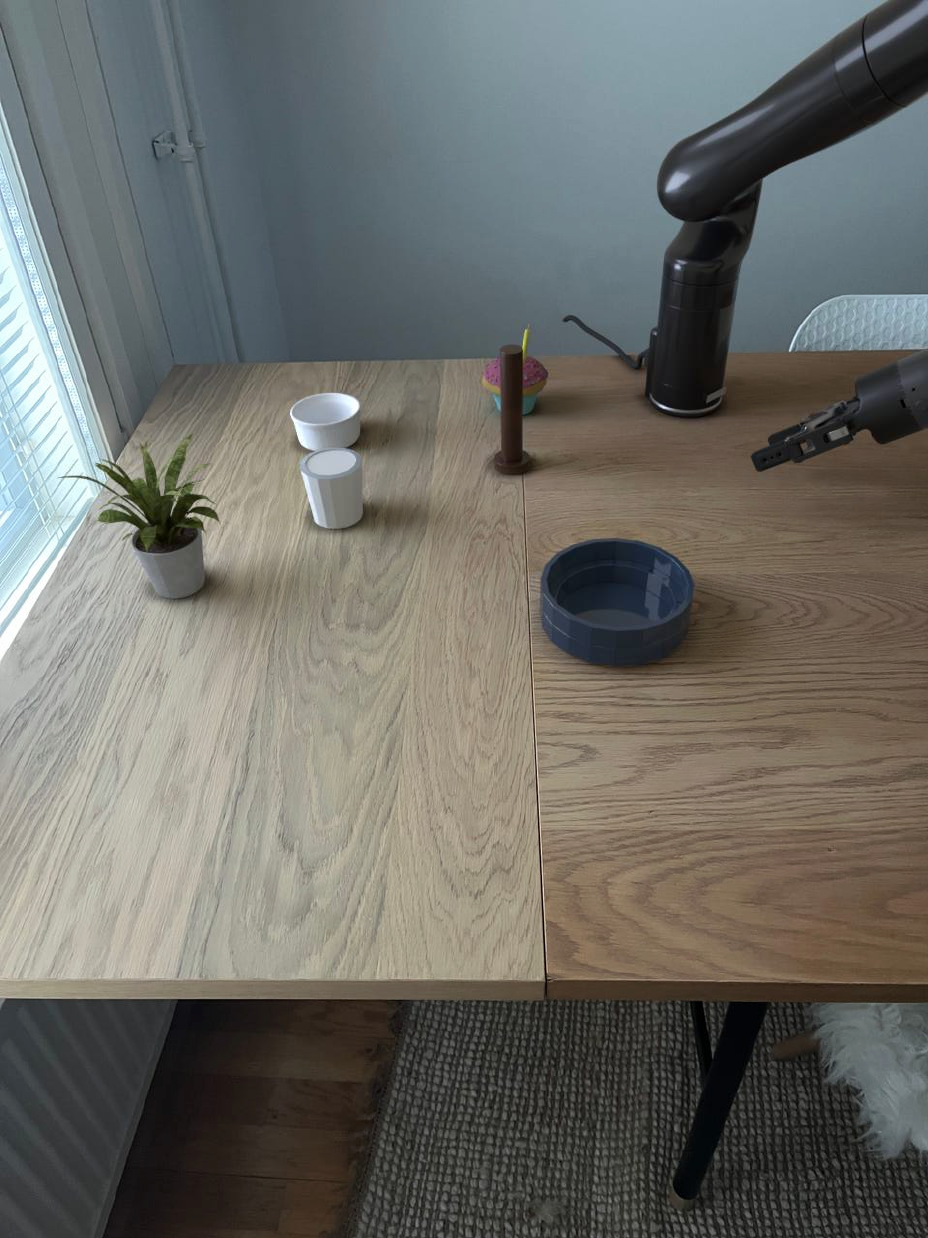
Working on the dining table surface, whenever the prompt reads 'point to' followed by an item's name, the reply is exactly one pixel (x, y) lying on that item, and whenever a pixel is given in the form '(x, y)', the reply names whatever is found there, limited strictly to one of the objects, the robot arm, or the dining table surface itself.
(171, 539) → the house plant
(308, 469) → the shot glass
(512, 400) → the stirrer
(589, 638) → the bowl
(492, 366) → the cupcake
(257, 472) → the dining table surface
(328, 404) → the ramekin
